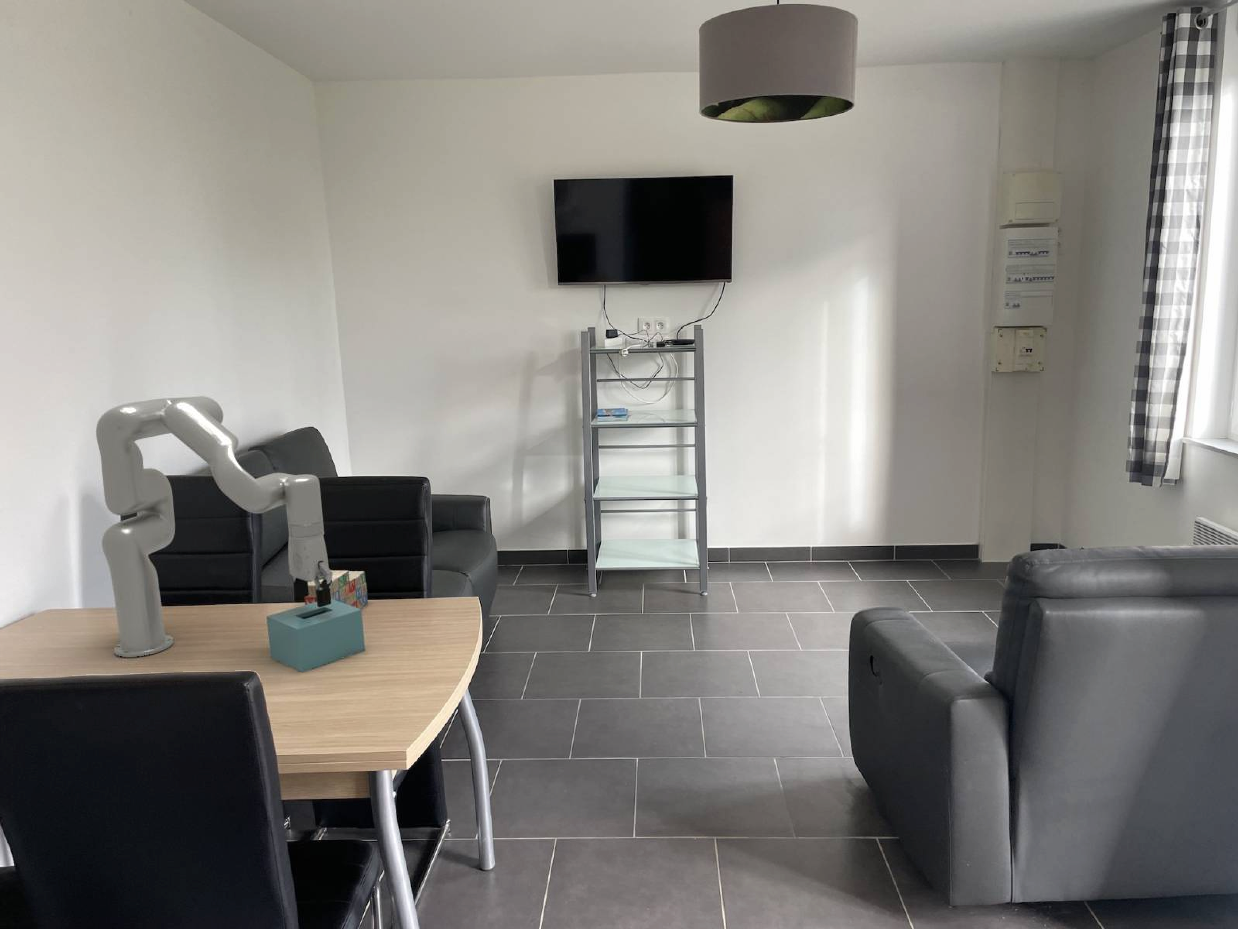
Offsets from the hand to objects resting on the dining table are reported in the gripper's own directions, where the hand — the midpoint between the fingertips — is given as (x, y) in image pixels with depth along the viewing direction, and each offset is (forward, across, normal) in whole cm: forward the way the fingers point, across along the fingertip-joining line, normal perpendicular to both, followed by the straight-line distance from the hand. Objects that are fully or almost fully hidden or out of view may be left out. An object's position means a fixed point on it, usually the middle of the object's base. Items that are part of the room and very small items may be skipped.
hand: (313, 601), depth 205 cm
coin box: (+13, 0, 0) cm, 13 cm away
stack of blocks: (+13, -19, +17) cm, 29 cm away
